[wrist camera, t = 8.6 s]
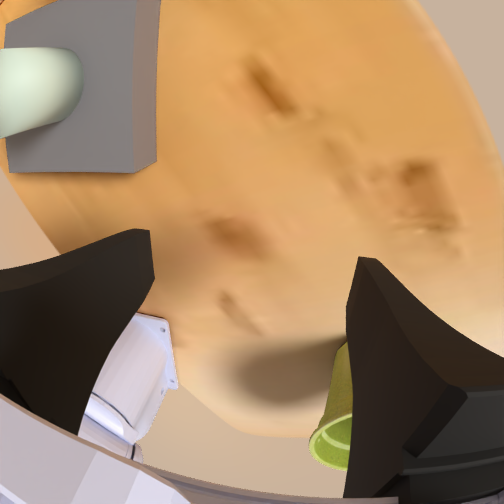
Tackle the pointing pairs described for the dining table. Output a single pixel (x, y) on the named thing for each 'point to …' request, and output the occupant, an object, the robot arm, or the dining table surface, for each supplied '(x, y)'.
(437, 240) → the dining table surface
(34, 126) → the sage cylinder
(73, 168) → the gray square block
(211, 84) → the dining table surface
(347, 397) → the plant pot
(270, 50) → the dining table surface
